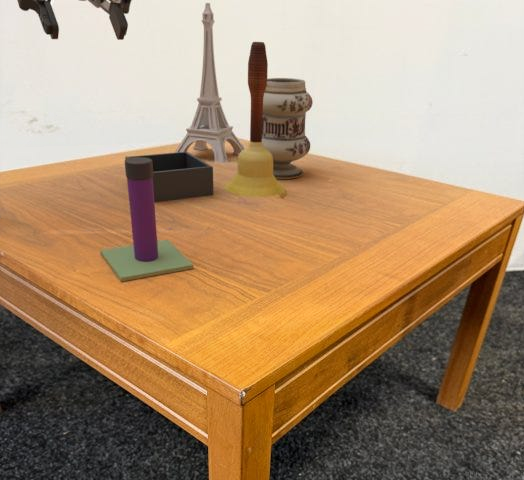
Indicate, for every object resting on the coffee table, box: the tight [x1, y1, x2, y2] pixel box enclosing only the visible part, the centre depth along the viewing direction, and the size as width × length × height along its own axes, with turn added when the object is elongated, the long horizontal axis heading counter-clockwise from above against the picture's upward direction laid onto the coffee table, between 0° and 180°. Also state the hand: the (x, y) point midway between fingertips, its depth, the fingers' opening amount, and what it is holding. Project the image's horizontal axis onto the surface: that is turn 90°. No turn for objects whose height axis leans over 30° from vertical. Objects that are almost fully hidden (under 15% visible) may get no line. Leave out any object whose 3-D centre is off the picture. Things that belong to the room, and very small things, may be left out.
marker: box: [124, 157, 158, 262], centre depth 72 cm, size 3×3×13 cm
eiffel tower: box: [173, 2, 246, 163], centre depth 119 cm, size 13×13×30 cm
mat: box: [99, 239, 194, 283], centre depth 76 cm, size 10×10×1 cm
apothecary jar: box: [262, 77, 314, 180], centre depth 112 cm, size 12×12×18 cm
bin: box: [124, 151, 214, 203], centre depth 101 cm, size 12×12×6 cm
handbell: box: [224, 41, 288, 199], centre depth 98 cm, size 12×12×25 cm
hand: (90, 34), depth 70 cm, fingers open, 8 cm apart
